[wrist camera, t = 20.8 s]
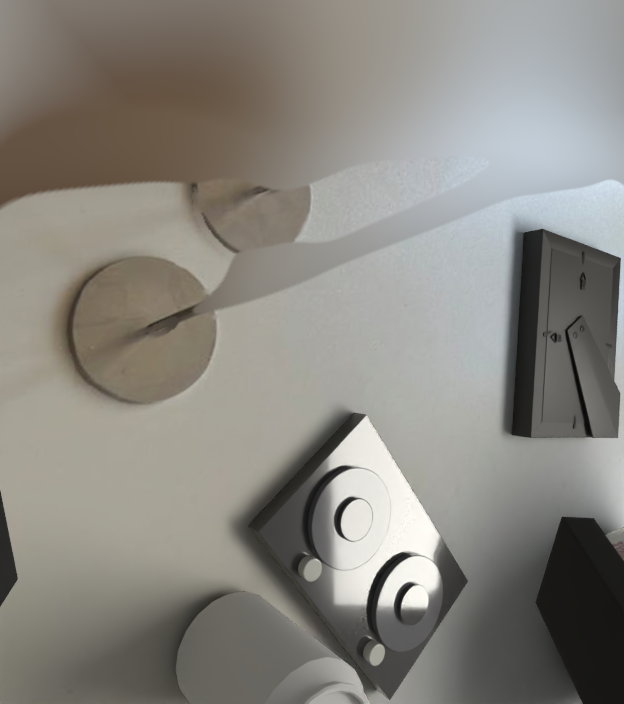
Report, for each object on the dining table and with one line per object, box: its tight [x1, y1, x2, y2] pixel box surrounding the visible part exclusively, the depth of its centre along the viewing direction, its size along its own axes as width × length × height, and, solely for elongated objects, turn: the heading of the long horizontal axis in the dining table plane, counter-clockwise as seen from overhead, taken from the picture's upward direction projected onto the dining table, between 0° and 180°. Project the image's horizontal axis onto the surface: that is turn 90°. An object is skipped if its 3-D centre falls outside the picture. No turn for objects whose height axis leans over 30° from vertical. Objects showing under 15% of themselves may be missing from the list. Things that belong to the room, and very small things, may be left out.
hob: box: [248, 413, 468, 700], centre depth 43 cm, size 12×20×2 cm, turn 37°
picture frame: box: [512, 229, 621, 438], centre depth 59 cm, size 16×3×21 cm
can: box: [176, 592, 370, 704], centre depth 32 cm, size 8×8×12 cm
